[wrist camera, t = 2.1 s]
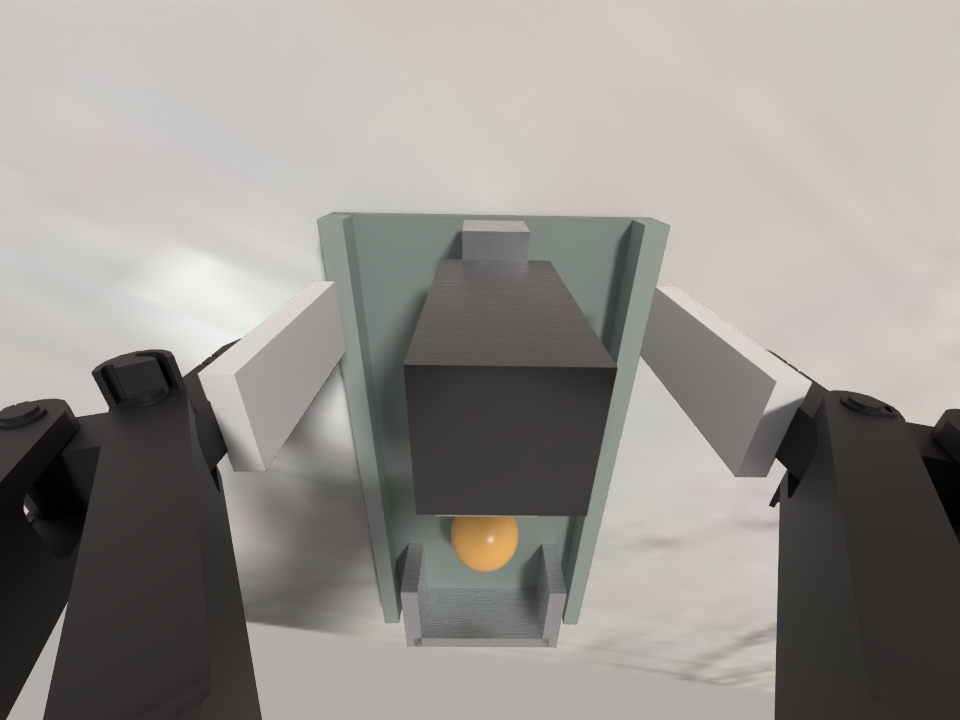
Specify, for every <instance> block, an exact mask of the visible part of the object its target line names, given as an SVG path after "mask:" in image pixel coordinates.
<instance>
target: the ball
mask: <svg viewBox="0 0 960 720" xmlns="http://www.w3.org/2000/svg"><path fill="white" fill-rule="evenodd" d="M518 538H519V533H518V526H517V523H516V520H515V518H514V517H468V516H455V518H454V520H453V523H452V527H451V542H452V546H453V549H454V552H455V554H456V556H457V557H458V558H459V560H460V561H461V562H462V563H463V564H464V565H465V566H467V567H468V568H470V569H472V570H475V571H478V572H491V571H495V570H498V569H500V568H501V567H503V566H504V565H505V564H507V563H508V562H509V561H510V559H511V558H512V556H513V555H514V553H515V551H516V548H517V545H518Z"/></svg>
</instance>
